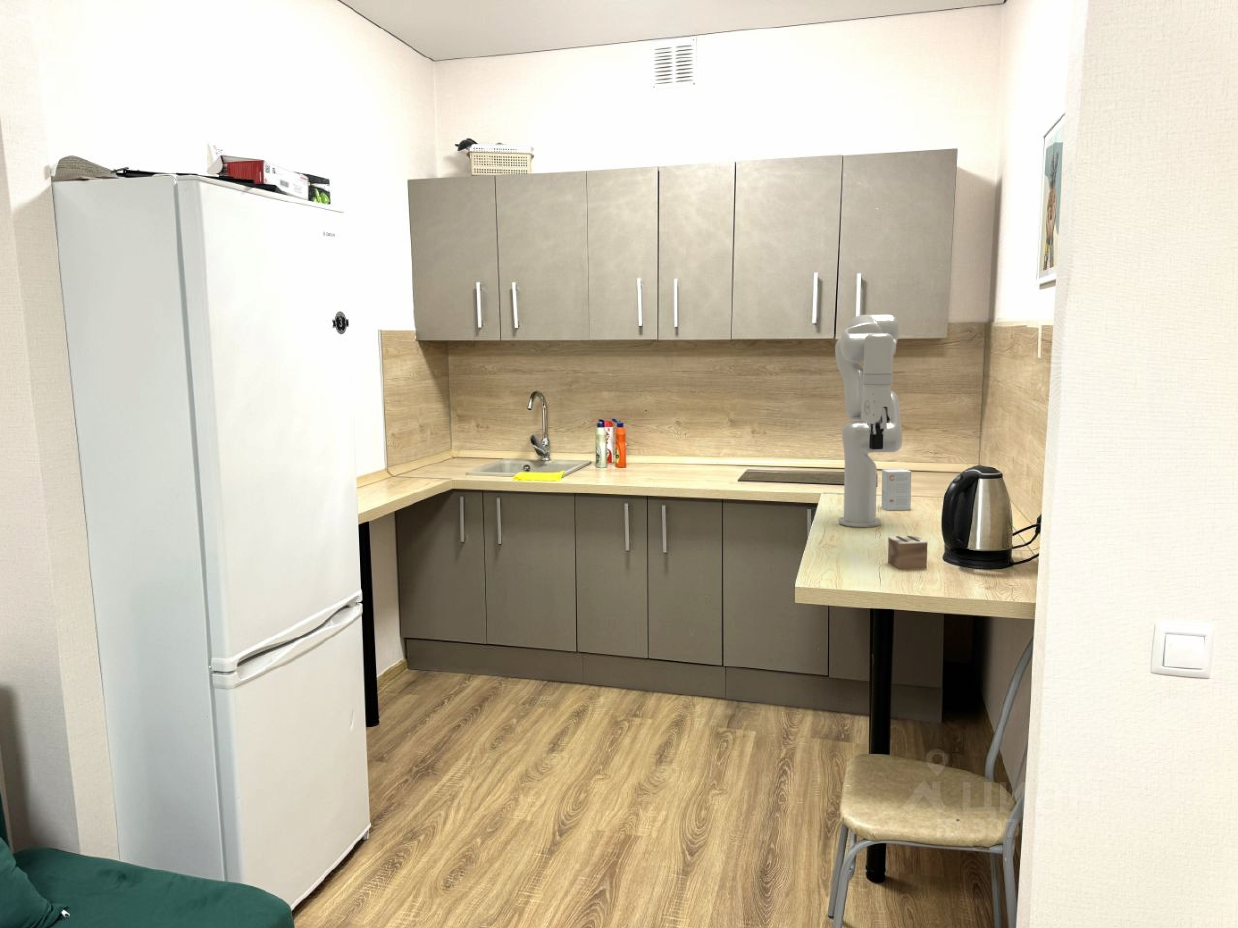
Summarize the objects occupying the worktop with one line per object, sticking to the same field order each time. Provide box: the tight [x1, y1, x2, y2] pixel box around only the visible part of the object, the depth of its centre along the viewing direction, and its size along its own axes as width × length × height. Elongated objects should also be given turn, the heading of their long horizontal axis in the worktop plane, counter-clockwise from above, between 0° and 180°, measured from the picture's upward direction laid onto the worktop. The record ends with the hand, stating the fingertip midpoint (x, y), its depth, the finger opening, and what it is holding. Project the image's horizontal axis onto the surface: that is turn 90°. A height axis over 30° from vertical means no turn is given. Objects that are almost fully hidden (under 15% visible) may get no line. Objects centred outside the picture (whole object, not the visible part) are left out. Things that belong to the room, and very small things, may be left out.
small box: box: [881, 468, 912, 511], centre depth 293 cm, size 8×6×13 cm
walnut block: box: [887, 535, 928, 570], centre depth 220 cm, size 7×7×7 cm
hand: (876, 448), depth 237 cm, fingers closed
